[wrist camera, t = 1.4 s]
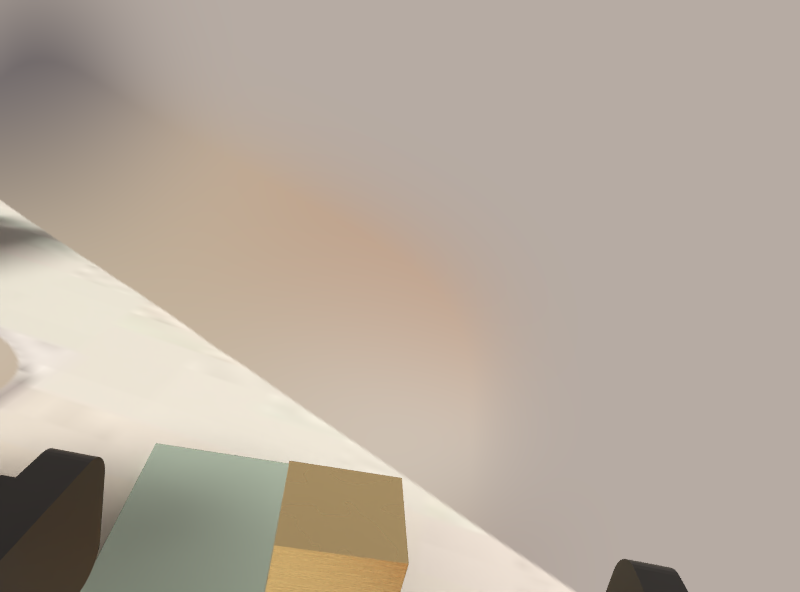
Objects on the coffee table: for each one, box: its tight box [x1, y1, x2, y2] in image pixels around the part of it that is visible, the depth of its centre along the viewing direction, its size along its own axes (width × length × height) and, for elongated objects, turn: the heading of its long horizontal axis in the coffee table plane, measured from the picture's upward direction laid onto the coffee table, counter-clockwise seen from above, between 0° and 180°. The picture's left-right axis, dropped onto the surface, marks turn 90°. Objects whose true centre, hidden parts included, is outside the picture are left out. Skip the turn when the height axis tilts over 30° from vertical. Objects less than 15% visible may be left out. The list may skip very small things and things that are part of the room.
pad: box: [80, 443, 289, 592], centre depth 37 cm, size 12×12×1 cm
